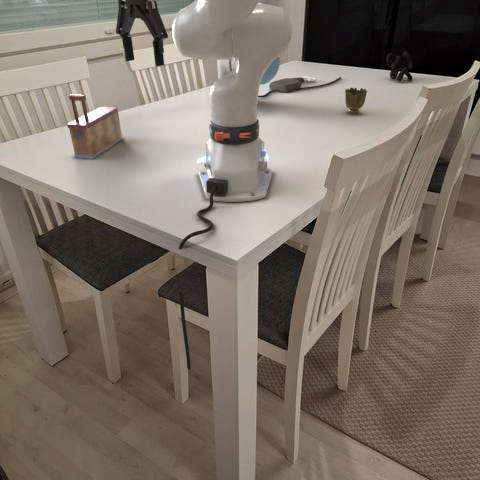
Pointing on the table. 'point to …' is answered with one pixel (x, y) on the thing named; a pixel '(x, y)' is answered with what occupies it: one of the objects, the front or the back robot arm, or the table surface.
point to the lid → (90, 117)
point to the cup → (355, 99)
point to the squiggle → (399, 66)
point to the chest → (96, 137)
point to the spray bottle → (289, 83)
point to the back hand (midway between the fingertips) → (144, 63)
